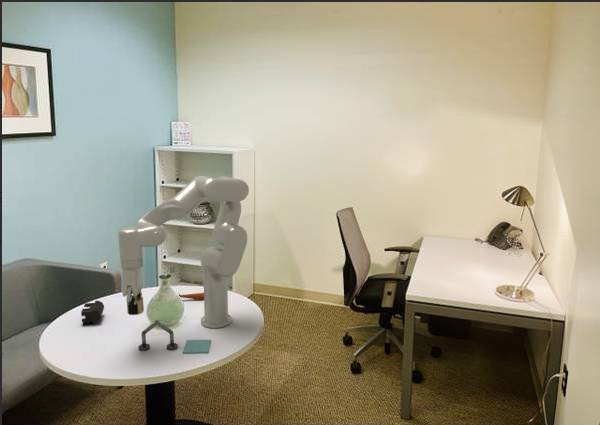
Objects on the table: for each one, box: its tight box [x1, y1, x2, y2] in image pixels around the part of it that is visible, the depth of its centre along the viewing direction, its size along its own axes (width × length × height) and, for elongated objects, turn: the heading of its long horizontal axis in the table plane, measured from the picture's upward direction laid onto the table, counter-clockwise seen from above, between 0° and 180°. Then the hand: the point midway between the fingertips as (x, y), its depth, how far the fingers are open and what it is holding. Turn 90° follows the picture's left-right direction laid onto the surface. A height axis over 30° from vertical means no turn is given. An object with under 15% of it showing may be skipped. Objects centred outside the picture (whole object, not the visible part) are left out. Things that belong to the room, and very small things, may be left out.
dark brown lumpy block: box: [80, 300, 105, 327], centre depth 194 cm, size 10×7×7 cm
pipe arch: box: [137, 319, 179, 352], centre depth 173 cm, size 4×14×11 cm, turn 94°
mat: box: [182, 339, 212, 355], centre depth 175 cm, size 9×9×1 cm
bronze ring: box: [126, 296, 145, 316], centre depth 170 cm, size 5×5×5 cm
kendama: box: [178, 292, 204, 301], centre depth 215 cm, size 6×6×20 cm
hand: (135, 310), depth 170 cm, fingers closed on bronze ring, 5 cm apart
